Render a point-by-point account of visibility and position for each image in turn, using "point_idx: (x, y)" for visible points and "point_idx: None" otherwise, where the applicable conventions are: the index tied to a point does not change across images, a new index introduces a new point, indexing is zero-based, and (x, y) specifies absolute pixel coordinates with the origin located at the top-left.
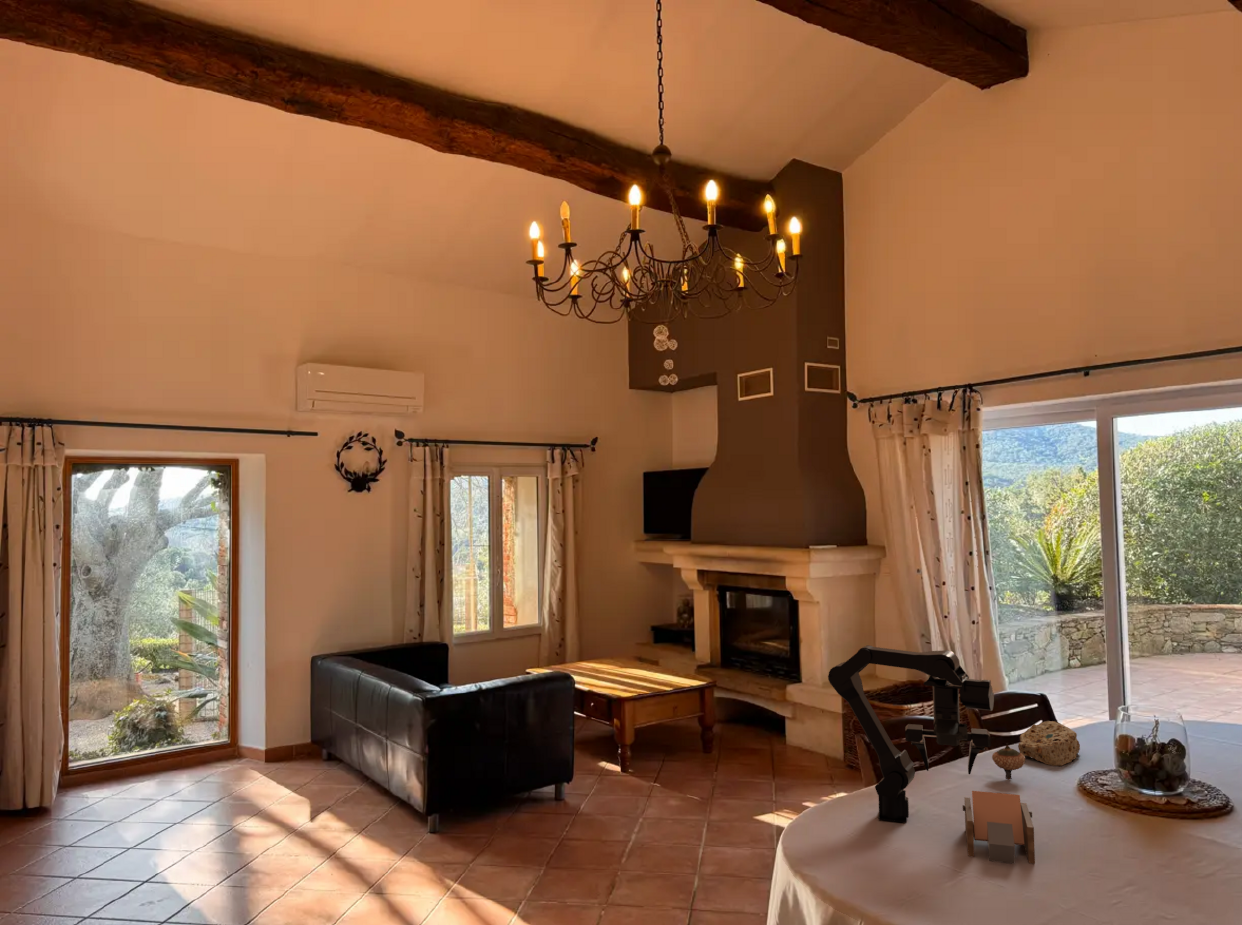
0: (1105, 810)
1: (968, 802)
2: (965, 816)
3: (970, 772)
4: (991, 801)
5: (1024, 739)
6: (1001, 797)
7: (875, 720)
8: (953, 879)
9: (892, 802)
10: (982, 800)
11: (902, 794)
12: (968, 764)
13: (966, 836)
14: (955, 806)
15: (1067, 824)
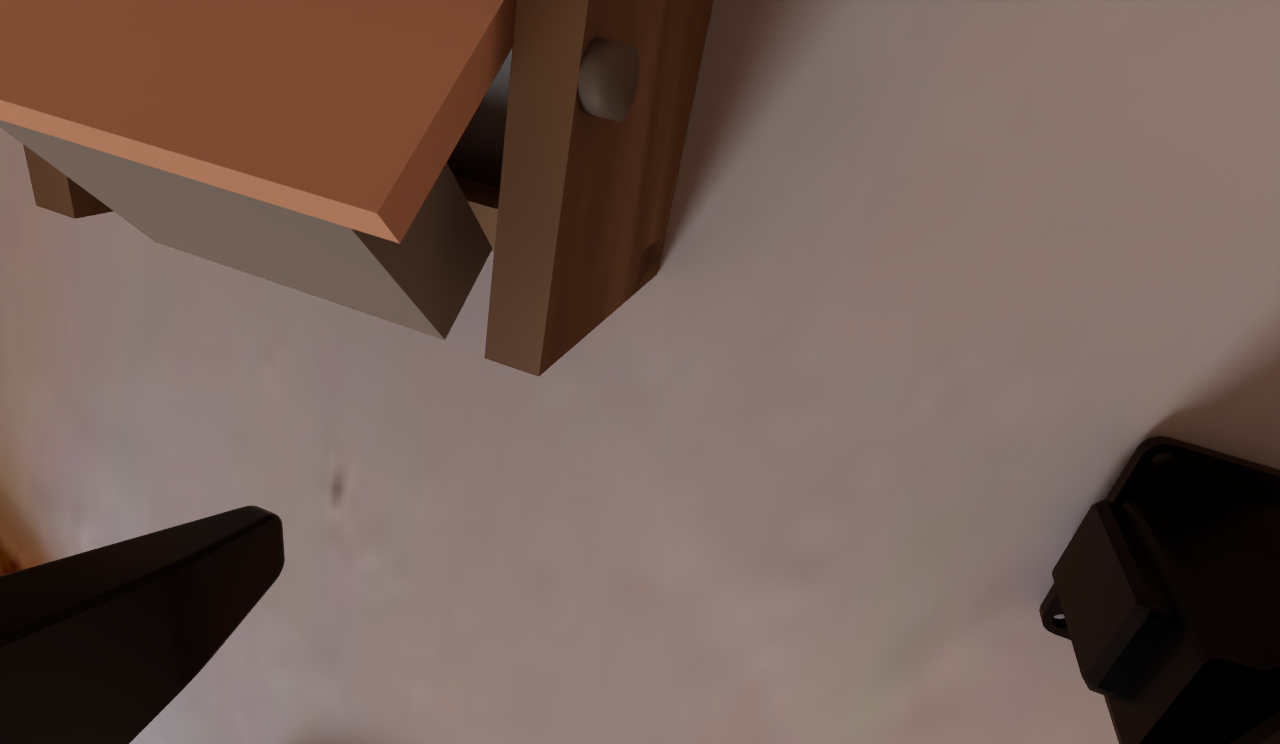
0: (6, 504)
1: (522, 203)
2: (626, 164)
3: (222, 515)
4: (235, 47)
5: None
6: (94, 74)
7: None
8: None
9: None
10: (330, 76)
11: (1243, 674)
12: (120, 648)
13: (697, 22)
14: (623, 661)
15: (112, 358)
